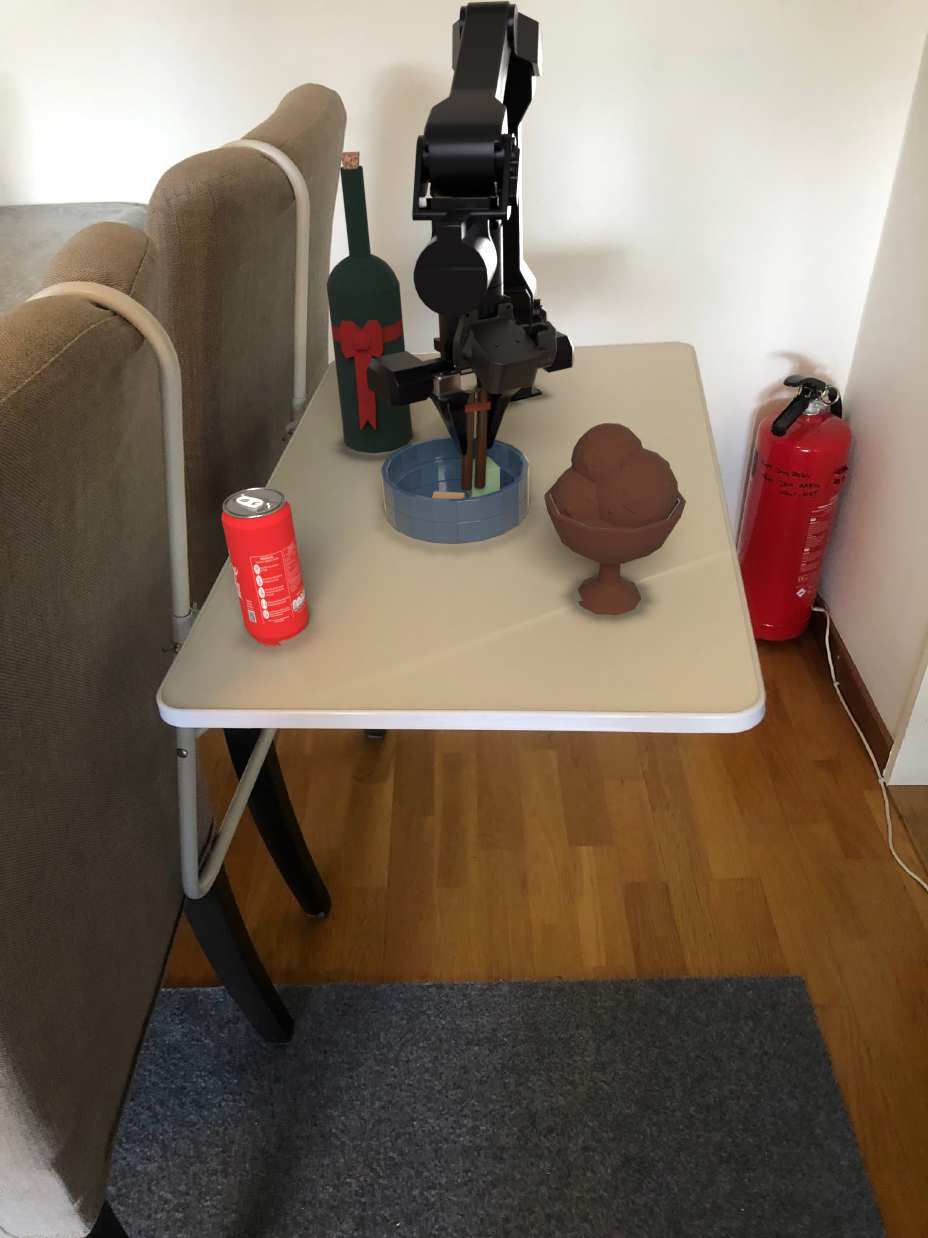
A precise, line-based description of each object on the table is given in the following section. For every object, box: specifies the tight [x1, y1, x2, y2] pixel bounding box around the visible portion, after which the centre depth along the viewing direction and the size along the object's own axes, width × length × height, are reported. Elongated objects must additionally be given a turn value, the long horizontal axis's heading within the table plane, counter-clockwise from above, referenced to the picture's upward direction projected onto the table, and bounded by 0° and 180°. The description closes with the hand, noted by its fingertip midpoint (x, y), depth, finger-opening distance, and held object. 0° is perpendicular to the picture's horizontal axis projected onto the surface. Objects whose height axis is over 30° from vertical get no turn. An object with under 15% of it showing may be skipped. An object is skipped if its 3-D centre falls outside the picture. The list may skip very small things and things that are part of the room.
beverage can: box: [221, 486, 309, 647], centre depth 73 cm, size 5×5×12 cm
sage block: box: [461, 456, 500, 497], centre depth 92 cm, size 3×3×3 cm
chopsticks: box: [461, 387, 491, 491], centre depth 87 cm, size 1×3×10 cm, turn 111°
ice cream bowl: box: [543, 422, 687, 616], centre depth 74 cm, size 11×11×15 cm
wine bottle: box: [326, 151, 413, 454], centre depth 96 cm, size 8×10×30 cm
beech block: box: [432, 492, 465, 499], centre depth 87 cm, size 3×3×3 cm
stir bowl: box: [380, 435, 530, 544], centre depth 90 cm, size 14×14×5 cm
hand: (474, 450), depth 88 cm, fingers closed on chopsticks, 2 cm apart
